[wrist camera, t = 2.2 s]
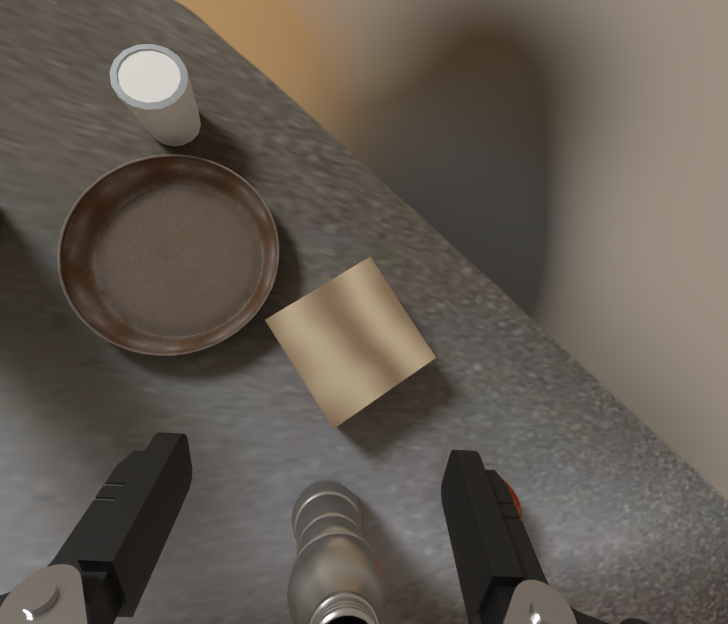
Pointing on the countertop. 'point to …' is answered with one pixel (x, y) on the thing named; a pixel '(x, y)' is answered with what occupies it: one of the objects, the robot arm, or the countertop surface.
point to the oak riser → (350, 341)
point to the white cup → (157, 92)
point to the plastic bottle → (334, 561)
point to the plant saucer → (168, 255)
